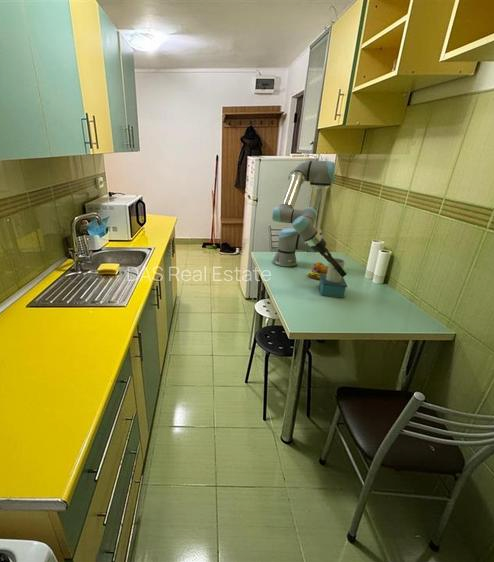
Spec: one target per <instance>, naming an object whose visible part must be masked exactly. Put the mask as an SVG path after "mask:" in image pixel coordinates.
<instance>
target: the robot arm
mask: <svg viewBox="0 0 494 562" xmlns="http://www.w3.org/2000/svg"><path fill="white" fill-rule="evenodd" d="M335 177H336V163H335V162H334V161H331V160H304V161H301V162H299V163H298V164H296V165H295V166H294V167H293V168H292V169H291V170H290V172H289V174H288V177H287V180H288V182H287V185H286V186H285V187H286V188H285V190H284V193H283V194H282V195H283V196H282V198H281V201H280V204H279V206H277V207H274V208H273V209H272V213H271V220H272V222H275V223H283V224H291V226H292V228H284V229H283V228H282V229H281V230H280V231H279V235H278V241H277V249H276V253H275V254H274V257H273V261H272V263H273V265H276V266H279V267H284V268H293V267H296V266H297V263H298V262H297V261H298V260H297V257H296V251H300V252H307V253H319V254H320V255H321V256H322V257H323V258H324V259H325V260H326V261H327V262H328V263H329V262H330V263H331V264H332V265H333V266H334V270H335V269H336V271H337V272H338V273H339V274H340V275H341V276H342V278H344V277H346V276H347V275H348V273H347V272H346V271H345V269H344V270H343V269H342V267H341V266H340V265H339V264H338V263H337V262H336V261H335V259H334V258H335V257H333V256H332V254H331V253H330V251H329V249H328V248H327V247H326V246H327V241H326V240H325V239H324V234H322V230H321V224H322V218H323V213H324V207H325V203H326V198H327V191H328V189H329V188H330V187H331V186H332V184H334V183H335ZM305 182H309V186H310V188H311V192H310V197H309V202H308V203H309V204H308V206H307V207H304V209H295V206H296V202H297V199H298V196H299V193H300V191H301V187H302V185H303V184H304V183H305Z"/></svg>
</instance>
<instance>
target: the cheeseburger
mask: <svg viewBox="0 0 494 562" xmlns="http://www.w3.org/2000/svg"><path fill="white" fill-rule="evenodd" d="M327 270H328V266H325V265H324V263H322V262H320V261H317V262H315V263H314V264H313V267H311V268H309V270H308V272H307V276H309V277H311V278H312V279H315V280H320V278H321V277H320V274H322V275H327Z"/></svg>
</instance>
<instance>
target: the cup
mask: <svg viewBox="0 0 494 562" xmlns="http://www.w3.org/2000/svg"><path fill="white" fill-rule="evenodd" d="M333 258H334V259H335V261H336V262H337V263H338V264H339V265H340V266H341V267H342V269H343V270H344V271H345V266H346V265H345V264H346V260H344V259H341V258H339V257H338V258H336V257H333ZM327 267H328V270H327V274H326V280H327V281H329V282H333V283H339V282H341V278H342V276H341V275H340V274H339V273H338V272H337V271H336V269H335V270H334V266H333V265H332V264H331V263H330V262H328V265H327Z"/></svg>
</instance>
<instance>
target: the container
mask: <svg viewBox="0 0 494 562" xmlns="http://www.w3.org/2000/svg"><path fill="white" fill-rule="evenodd" d="M326 275H327V274H326ZM326 275H322V274H320V277H321V278H320V279H319V284H318V288H319V291H320V295H321V296H325V297H326V296H327V297H334V298H345V293H346V290H347V289H346V288H348V285H347V282H346V280H345V278H344V277H343V278H341V282H339V283H333V282H329V281H327V280H326Z"/></svg>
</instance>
